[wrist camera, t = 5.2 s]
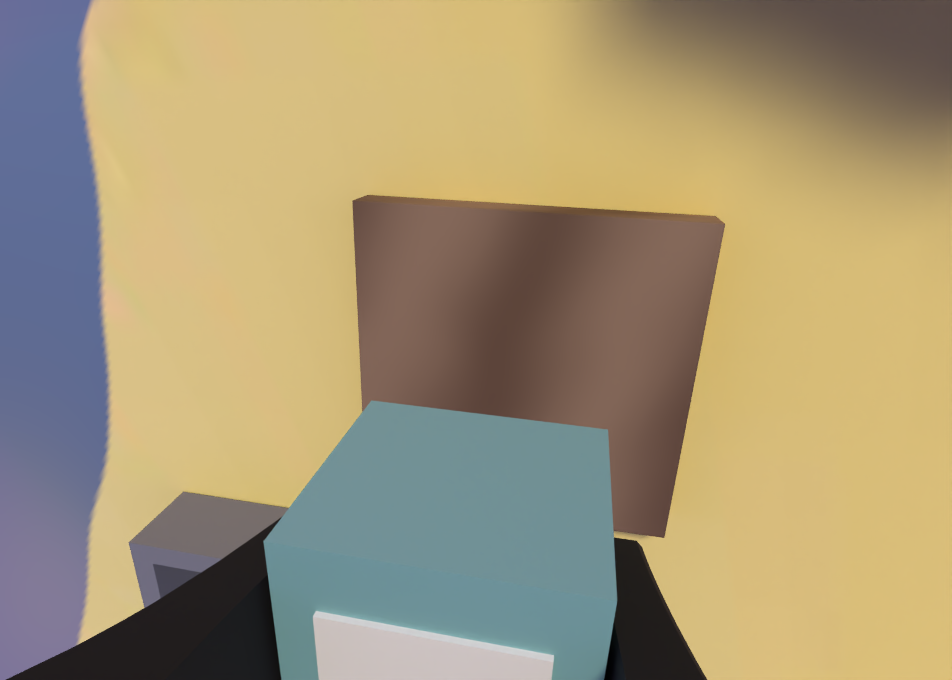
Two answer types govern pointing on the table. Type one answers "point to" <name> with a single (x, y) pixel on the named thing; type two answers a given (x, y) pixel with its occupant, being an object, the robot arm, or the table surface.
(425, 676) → the labelled block
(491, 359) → the pad
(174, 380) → the table surface
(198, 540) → the bin
